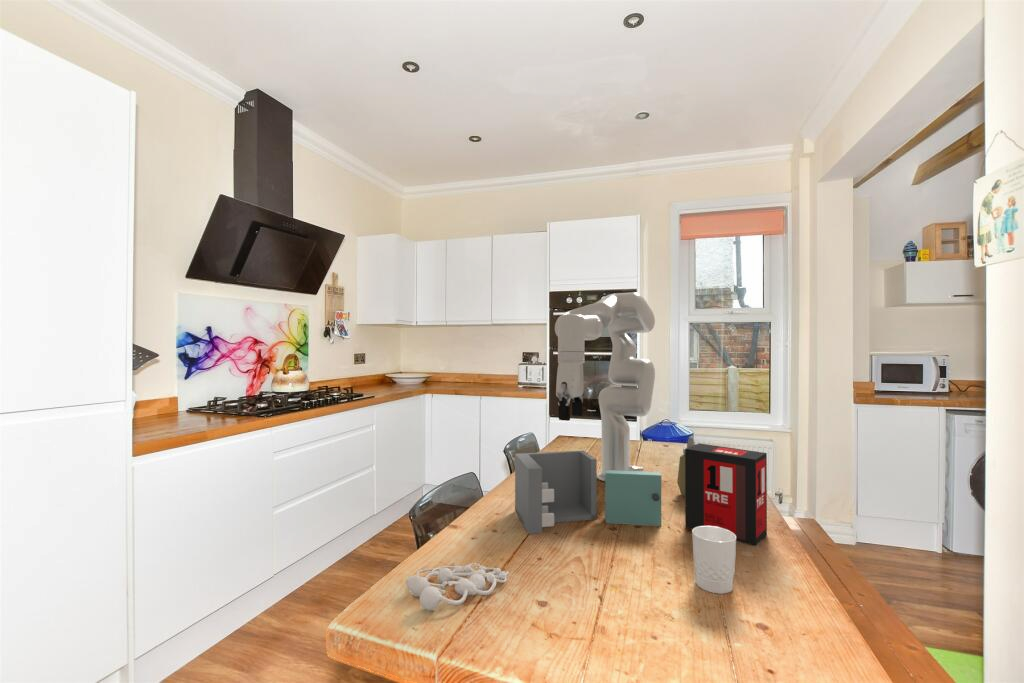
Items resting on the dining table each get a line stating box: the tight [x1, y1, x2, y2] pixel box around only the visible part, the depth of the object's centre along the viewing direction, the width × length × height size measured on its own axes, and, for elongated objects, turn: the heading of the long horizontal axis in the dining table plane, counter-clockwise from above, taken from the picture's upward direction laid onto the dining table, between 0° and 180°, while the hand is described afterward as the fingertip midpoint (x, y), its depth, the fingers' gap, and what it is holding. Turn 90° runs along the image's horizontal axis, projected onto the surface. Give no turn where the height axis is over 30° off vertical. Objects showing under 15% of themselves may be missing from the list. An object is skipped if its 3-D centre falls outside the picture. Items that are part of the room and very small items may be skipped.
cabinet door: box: [604, 470, 662, 527], centre depth 124 cm, size 14×4×13 cm, turn 81°
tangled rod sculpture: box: [405, 562, 510, 612], centre depth 91 cm, size 19×14×4 cm
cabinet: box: [514, 450, 598, 535], centre depth 126 cm, size 20×16×16 cm
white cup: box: [691, 526, 737, 595], centre depth 92 cm, size 8×8×10 cm
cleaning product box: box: [684, 443, 768, 547], centre depth 118 cm, size 16×9×20 cm, turn 47°
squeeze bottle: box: [677, 436, 696, 498], centre depth 145 cm, size 8×8×18 cm
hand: (571, 417), depth 135 cm, fingers open, 9 cm apart
